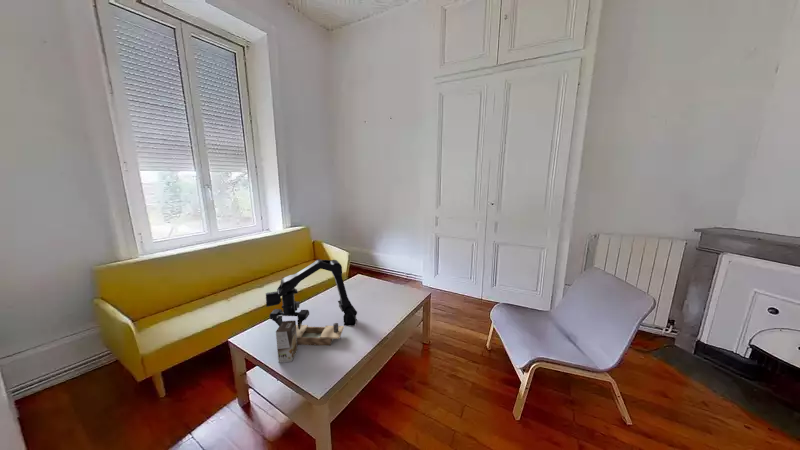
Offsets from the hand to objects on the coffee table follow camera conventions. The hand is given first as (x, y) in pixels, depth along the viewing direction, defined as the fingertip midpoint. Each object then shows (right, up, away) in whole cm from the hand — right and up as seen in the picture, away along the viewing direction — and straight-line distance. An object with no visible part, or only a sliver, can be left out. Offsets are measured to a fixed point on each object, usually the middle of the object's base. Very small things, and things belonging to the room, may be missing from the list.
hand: (290, 329), depth 139 cm
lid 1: (+2, -2, 0) cm, 3 cm away
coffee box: (+4, -9, -12) cm, 15 cm away
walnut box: (+12, -6, +1) cm, 13 cm away
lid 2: (+22, -2, 0) cm, 22 cm away
